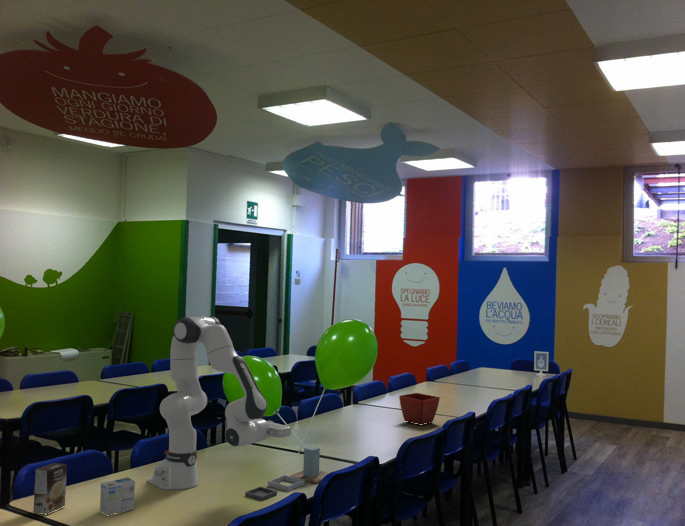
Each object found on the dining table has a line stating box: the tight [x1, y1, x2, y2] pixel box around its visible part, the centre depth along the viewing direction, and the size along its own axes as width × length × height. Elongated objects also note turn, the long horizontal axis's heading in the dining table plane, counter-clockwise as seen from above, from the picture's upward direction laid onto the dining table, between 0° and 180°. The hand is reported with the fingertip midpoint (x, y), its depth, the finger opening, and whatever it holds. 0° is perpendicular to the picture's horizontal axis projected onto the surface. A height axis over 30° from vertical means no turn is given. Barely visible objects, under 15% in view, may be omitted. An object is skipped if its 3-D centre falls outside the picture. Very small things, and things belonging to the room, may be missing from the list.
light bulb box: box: [99, 476, 136, 516], centre depth 227 cm, size 11×7×11 cm, turn 135°
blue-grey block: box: [302, 445, 321, 478], centre depth 273 cm, size 5×5×12 cm
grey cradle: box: [267, 474, 305, 492], centre depth 261 cm, size 11×11×2 cm
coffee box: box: [32, 462, 68, 514], centre depth 225 cm, size 9×6×16 cm
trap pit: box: [244, 486, 278, 502], centre depth 248 cm, size 9×9×2 cm
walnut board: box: [290, 470, 330, 485], centre depth 274 cm, size 14×14×1 cm
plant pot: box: [398, 392, 441, 424], centre depth 391 cm, size 19×19×17 cm
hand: (280, 424), depth 261 cm, fingers open, 8 cm apart
